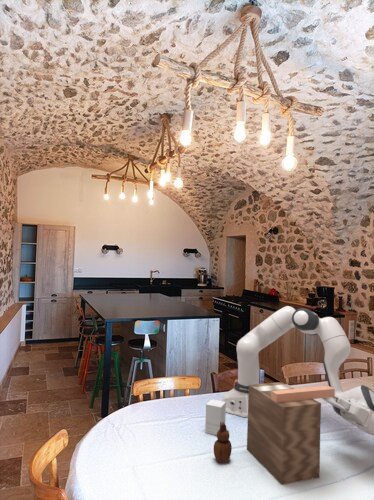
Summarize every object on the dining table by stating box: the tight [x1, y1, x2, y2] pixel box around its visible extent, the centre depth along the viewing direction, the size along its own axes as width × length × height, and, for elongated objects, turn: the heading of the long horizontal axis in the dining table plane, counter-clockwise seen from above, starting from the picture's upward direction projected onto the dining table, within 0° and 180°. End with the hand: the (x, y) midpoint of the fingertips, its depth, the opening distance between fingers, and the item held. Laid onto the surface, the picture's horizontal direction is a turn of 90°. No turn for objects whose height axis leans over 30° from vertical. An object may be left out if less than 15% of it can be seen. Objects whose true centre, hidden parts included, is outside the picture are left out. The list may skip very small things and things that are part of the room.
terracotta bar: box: [271, 385, 335, 403], centre depth 132 cm, size 26×4×3 cm, turn 110°
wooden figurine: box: [213, 422, 233, 463], centre depth 134 cm, size 7×6×15 cm
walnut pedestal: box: [246, 381, 322, 485], centre depth 135 cm, size 16×24×26 cm, turn 20°
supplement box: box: [204, 398, 227, 436], centre depth 158 cm, size 7×7×13 cm
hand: (328, 395), depth 135 cm, fingers open, 8 cm apart
